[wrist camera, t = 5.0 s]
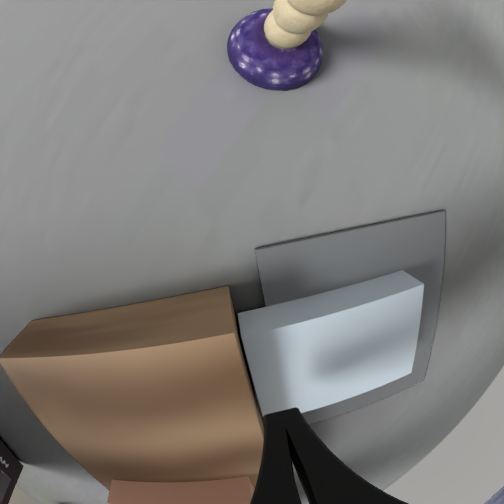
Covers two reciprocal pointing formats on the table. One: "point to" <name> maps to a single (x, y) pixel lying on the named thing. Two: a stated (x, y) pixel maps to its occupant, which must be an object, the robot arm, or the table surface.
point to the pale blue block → (333, 343)
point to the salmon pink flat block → (182, 492)
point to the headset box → (8, 473)
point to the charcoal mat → (359, 270)
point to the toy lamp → (280, 43)
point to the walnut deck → (145, 389)
